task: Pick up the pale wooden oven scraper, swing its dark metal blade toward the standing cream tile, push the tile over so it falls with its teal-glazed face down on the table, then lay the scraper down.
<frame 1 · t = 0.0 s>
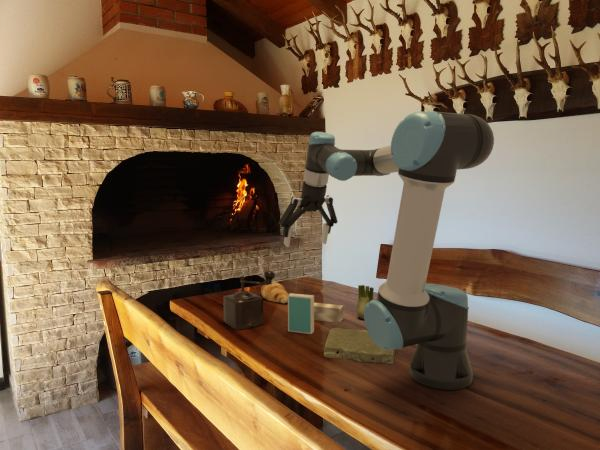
hand: (305, 243, 149), 28 cm above the table, tool tilted 20°, fingers open, 13 cm apart
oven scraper: (319, 318, 160), on the table
decorative tile: (359, 351, 133), on the table
glazed tile: (301, 331, 147), on the table
fennel bulb: (364, 319, 159), on the table
croissant: (273, 299, 185), on the table
pepper mill: (250, 322, 156), on the table
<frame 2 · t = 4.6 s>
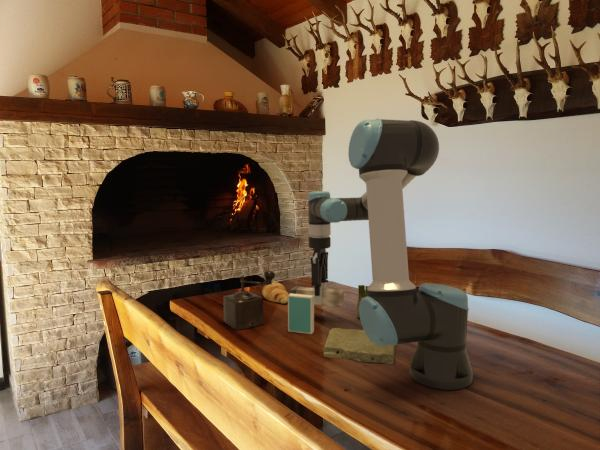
hand: (320, 302, 158), 6 cm above the table, tool pointing down, fingers closed on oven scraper, 4 cm apart
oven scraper: (320, 303, 158), point 5 cm above the table, touching gripper
everything else where it was.
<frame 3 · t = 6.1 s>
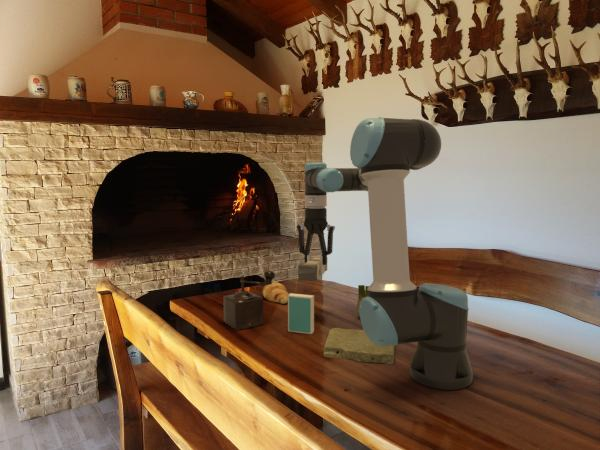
hand: (315, 273, 160), 16 cm above the table, tool pointing down, fingers closed on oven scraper, 4 cm apart
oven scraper: (315, 274, 160), point 15 cm above the table, touching gripper
everything else where it was.
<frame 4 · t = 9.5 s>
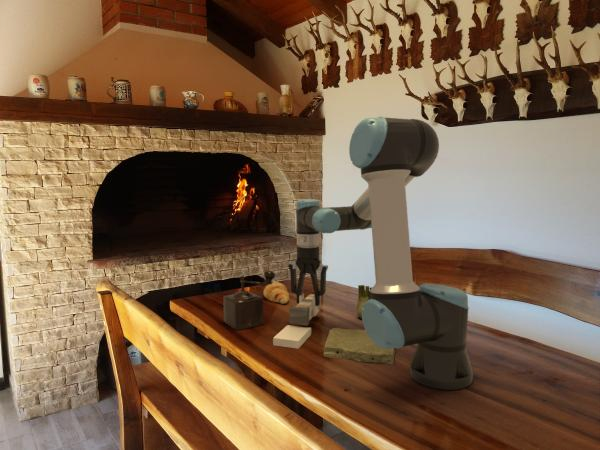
hand: (308, 314, 153), 4 cm above the table, tool pointing down, fingers closed on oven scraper, 4 cm apart
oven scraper: (308, 315, 154), point 3 cm above the table, touching gripper
glazed tile: (299, 330, 145), point 1 cm above the table, tilted 90°
everything else where it was.
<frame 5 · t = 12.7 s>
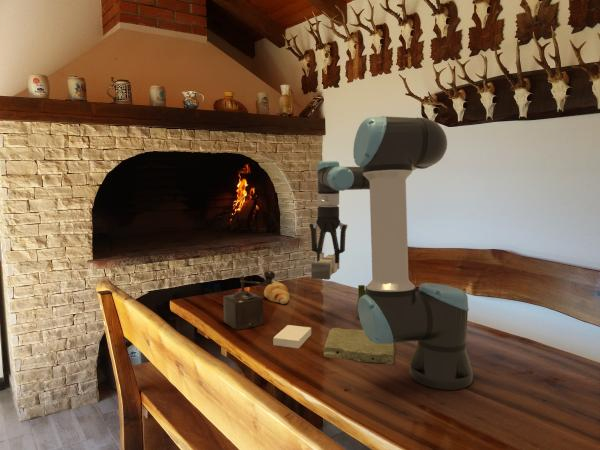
hand: (328, 271, 161), 16 cm above the table, tool pointing down, fingers closed on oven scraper, 4 cm apart
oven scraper: (328, 272, 161), point 16 cm above the table, touching gripper
everything else where it was.
when the fingers open (0 cm above the table, at t = 15.8 s): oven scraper stays where it is, on the table.
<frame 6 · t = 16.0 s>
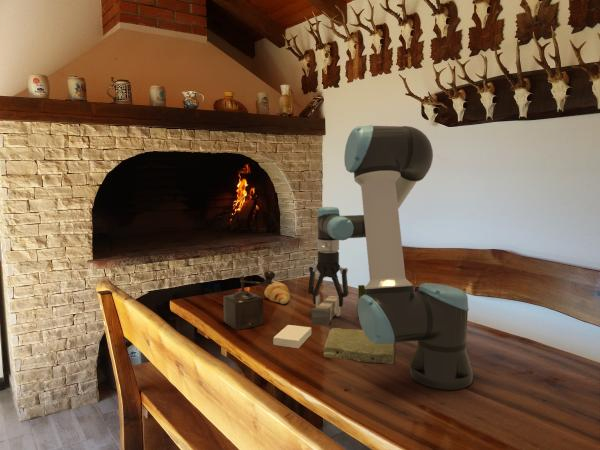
hand: (328, 314, 163), 1 cm above the table, tool pointing down, fingers open, 7 cm apart
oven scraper: (328, 315, 163), on the table
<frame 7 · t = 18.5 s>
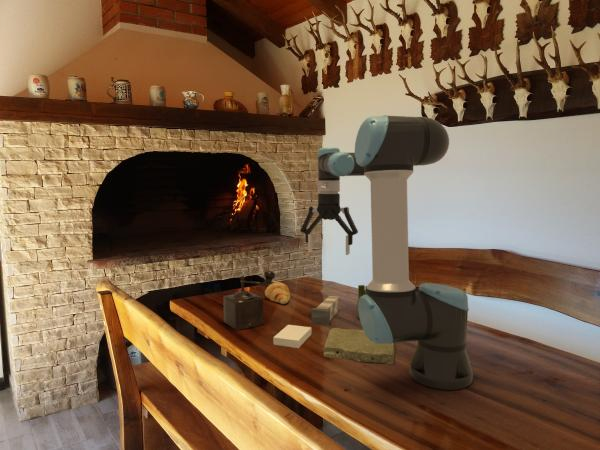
hand: (328, 253, 160), 23 cm above the table, tool pointing down, fingers open, 13 cm apart
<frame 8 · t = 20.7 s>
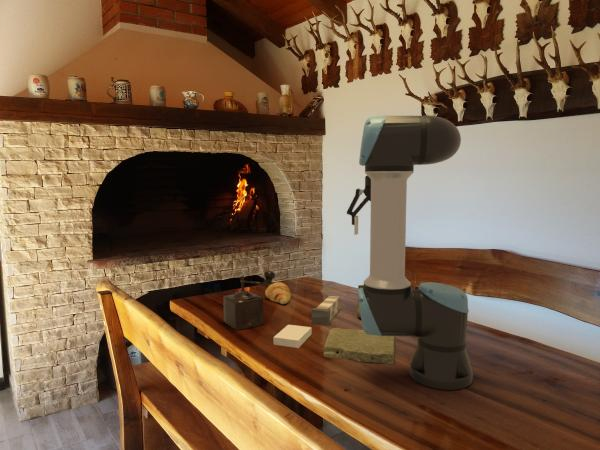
hand: (375, 235, 162), 29 cm above the table, tool pointing down, fingers open, 13 cm apart
at the end: glazed tile tilted 90°; glazed tile inside the target area (3.5 cm from its centre), point 0.9 cm above the table; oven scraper on the table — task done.
